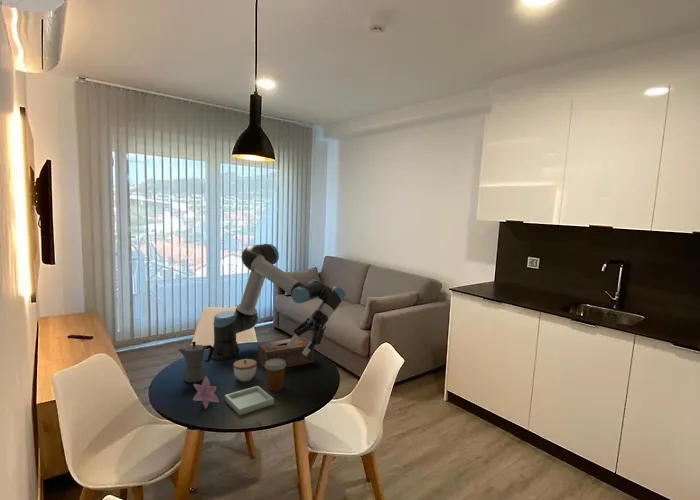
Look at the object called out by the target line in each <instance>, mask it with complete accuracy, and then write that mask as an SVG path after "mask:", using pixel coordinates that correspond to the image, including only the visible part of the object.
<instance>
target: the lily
mask: <svg viewBox="0 0 700 500" xmlns="http://www.w3.org/2000/svg"><path fill="white" fill-rule="evenodd" d="M210 383H211V381H210V380H209V378H208V376H207V375H205V377H204V379H203V380H202V383H201V384H198V383H193V386H194V388H195V390H196V391H197V392H196V394H195V395H194V397H193V398H192V401H197V402H199V401H202V403H203V404H202V405H203V407H204V409H207V408H208V406H209V402H212V403H213V402H214V403H220V400H219V398H218V397H217V395H216V393H214V392H215V391H216V389H217V386H216V385H211V384H210Z"/></svg>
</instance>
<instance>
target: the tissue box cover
mask: <svg viewBox="0 0 700 500" xmlns="http://www.w3.org/2000/svg"><path fill="white" fill-rule="evenodd" d="M290 340H291V338H285V339H280V340H273V341H266V342H261V343H257V362H258V363H259V364H260V365H261V367H262V368H263V369H264V370H265V371H266V368H265V364H266V361H268V360H270V359H283V360H285V363H286V366H285V367H286V368H291V367H295V366H296V365H297V366H301V364H302V365H306V364H312V363H314V362H315V360H314V359H315V358H314V357H315V353H314V352H315V350H314V349H315V346H314V347H313V349H312V350H311V351H310V352H309V353H308V355H307V356H305V355H304V354H303V353H302V352H303V351H304V349H305V348H306V347H307V345H308V344H309V342H310V340H309V339H307V337H304V336H301V337H300V336H299V338H298V340H297V341H296V342H295V344H294V345H293V346H292V348H290V347H289V346H288V345H287V344H288V342H289V341H290Z"/></svg>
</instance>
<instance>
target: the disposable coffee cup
mask: <svg viewBox="0 0 700 500" xmlns="http://www.w3.org/2000/svg"><path fill="white" fill-rule="evenodd" d="M285 366H286V363H285V360H283V359H270V360H268V361H266V364H265V368H266V370H265V371H266V380H267V385H268V390H270V391H279V390H282V389H283V385H284V379H285V369H286V368H285Z"/></svg>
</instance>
